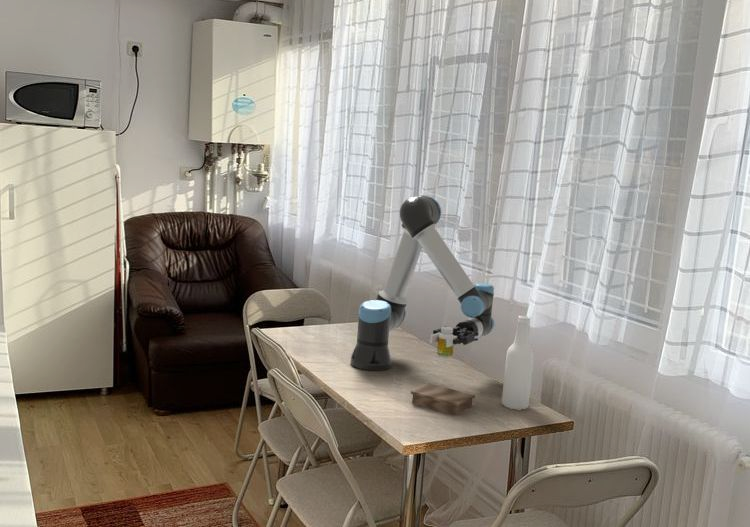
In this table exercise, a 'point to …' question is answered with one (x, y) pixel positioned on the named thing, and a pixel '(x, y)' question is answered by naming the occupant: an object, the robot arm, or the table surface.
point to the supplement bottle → (442, 338)
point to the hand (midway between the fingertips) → (439, 341)
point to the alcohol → (518, 368)
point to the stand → (442, 399)
